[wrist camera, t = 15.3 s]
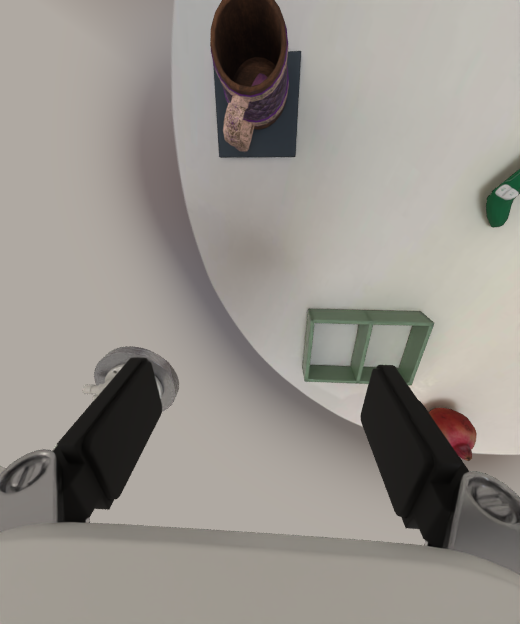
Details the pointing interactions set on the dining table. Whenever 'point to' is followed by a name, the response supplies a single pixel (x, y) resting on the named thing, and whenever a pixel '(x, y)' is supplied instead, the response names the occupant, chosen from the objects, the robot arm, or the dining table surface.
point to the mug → (250, 65)
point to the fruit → (456, 430)
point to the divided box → (366, 343)
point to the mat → (276, 136)
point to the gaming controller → (502, 200)
